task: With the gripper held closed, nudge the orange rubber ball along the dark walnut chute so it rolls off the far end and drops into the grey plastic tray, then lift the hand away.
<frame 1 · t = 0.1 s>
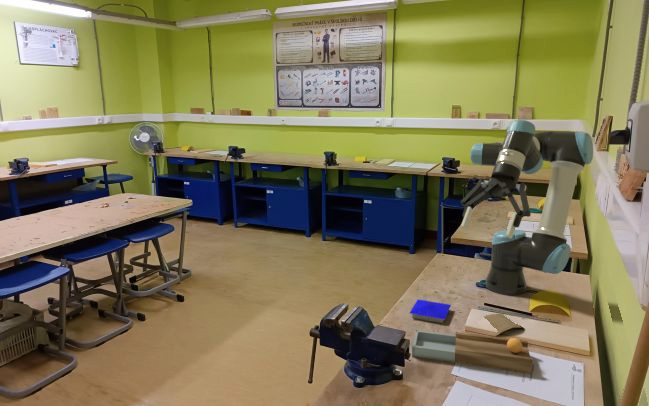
hand: (485, 232, 127), 36 cm above the table, tool tilted 35°, fingers open, 13 cm apart
chute: (491, 358, 127), on the table
tray: (434, 350, 132), on the table
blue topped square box: (430, 315, 156), on the table
ball: (514, 345, 125), point 5 cm above the table, touching chute
brown curved sheet: (500, 328, 146), on the table
walkie-talkie: (499, 262, 206), on the table
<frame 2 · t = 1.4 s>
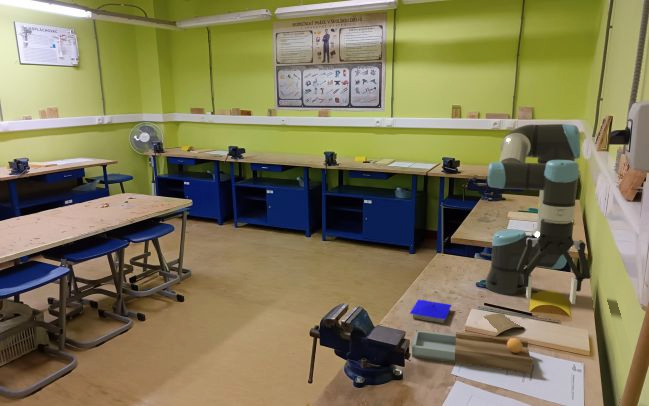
hand: (549, 299, 119), 20 cm above the table, tool pointing down, fingers open, 10 cm apart
nothing on the table moved.
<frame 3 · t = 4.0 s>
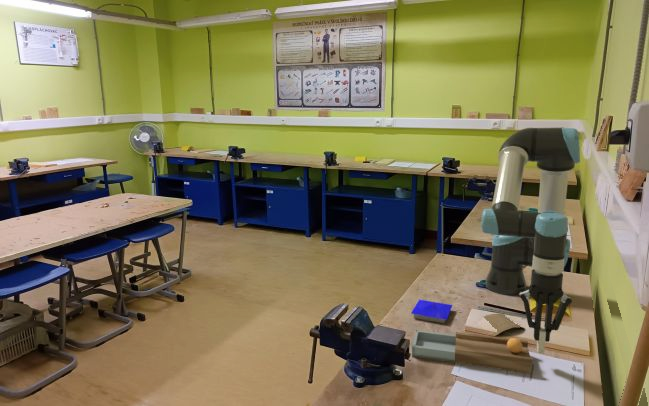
hand: (540, 350, 123), 4 cm above the table, tool pointing down, fingers closed
nothing on the table moved.
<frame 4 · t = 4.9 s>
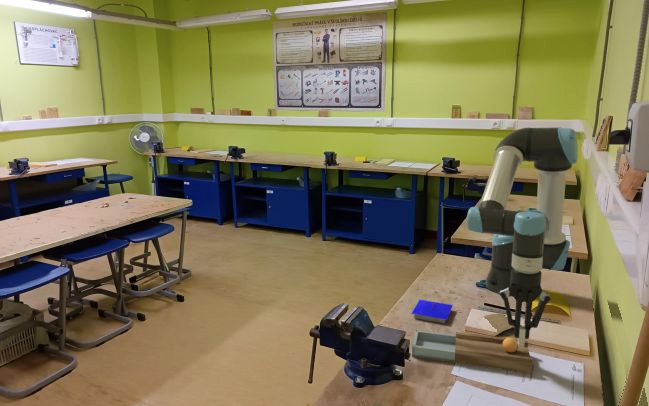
hand: (520, 348, 124), 4 cm above the table, tool pointing down, fingers closed
ball: (510, 345, 125), point 5 cm above the table, tilted 30°, touching chute, gripper
everything else where it was.
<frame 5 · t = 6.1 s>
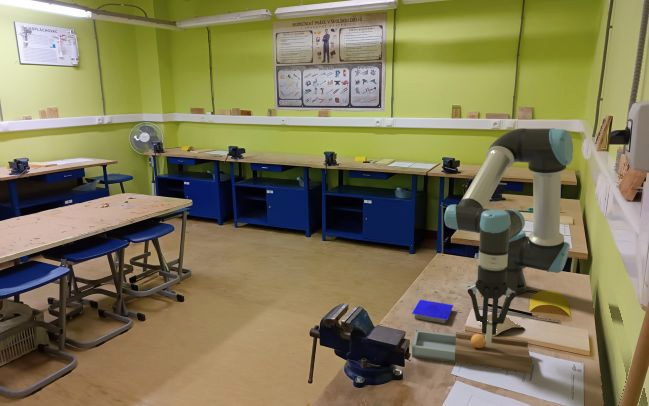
hand: (488, 343, 127), 5 cm above the table, tool pointing down, fingers closed
ball: (478, 341, 127), point 5 cm above the table, tilted 130°, touching chute, gripper
everything else where it was.
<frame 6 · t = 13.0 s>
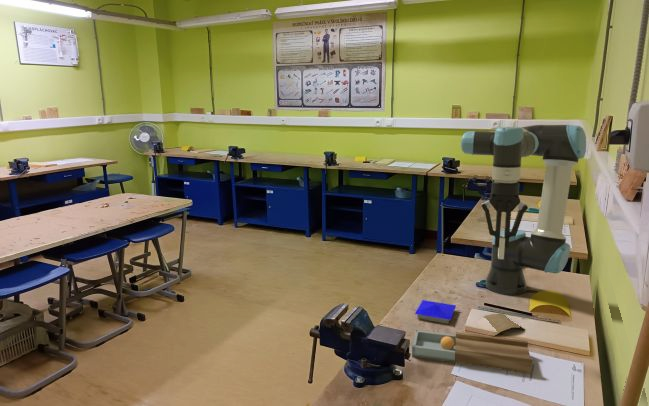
hand: (500, 257, 133), 26 cm above the table, tool pointing down, fingers closed
ball: (447, 343, 131), point 3 cm above the table, tilted 123°, touching tray
at the end: ball inside the target area on the tray (3.7 cm from its centre), point 2.8 cm above the tray's base; ball moved 18.5 cm from its start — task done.
